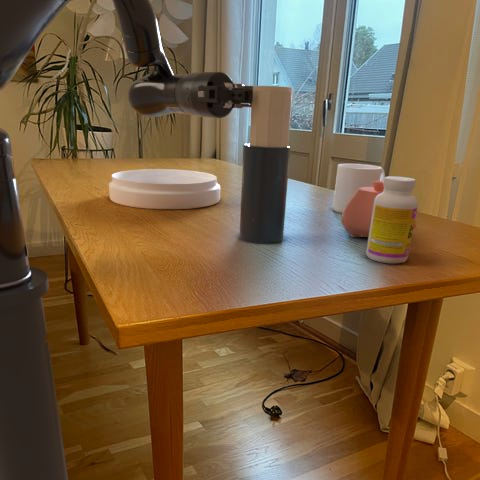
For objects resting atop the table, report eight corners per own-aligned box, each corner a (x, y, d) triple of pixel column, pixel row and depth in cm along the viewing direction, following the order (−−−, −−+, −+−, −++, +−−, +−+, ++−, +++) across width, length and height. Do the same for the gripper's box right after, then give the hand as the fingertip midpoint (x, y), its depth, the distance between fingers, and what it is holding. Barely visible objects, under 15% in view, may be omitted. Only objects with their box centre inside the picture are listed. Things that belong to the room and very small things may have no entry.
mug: (350, 216, 108) (357, 169, 103) (324, 208, 116) (329, 163, 111) (392, 213, 113) (399, 168, 109) (363, 205, 121) (370, 163, 117)
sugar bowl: (349, 224, 100) (356, 174, 96) (418, 235, 94) (429, 182, 90) (331, 237, 90) (338, 181, 86) (407, 249, 84) (418, 190, 80)
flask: (246, 244, 83) (251, 120, 75) (234, 232, 90) (239, 118, 82) (289, 243, 85) (299, 122, 77) (274, 231, 92) (283, 119, 84)
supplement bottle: (409, 266, 75) (426, 183, 70) (366, 262, 76) (379, 179, 71) (404, 254, 81) (419, 177, 76) (364, 251, 82) (376, 174, 77)
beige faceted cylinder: (280, 148, 77) (285, 86, 73) (243, 145, 79) (245, 85, 75) (294, 146, 82) (298, 88, 78) (258, 143, 84) (261, 87, 81)
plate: (86, 201, 111) (84, 177, 109) (146, 186, 134) (146, 165, 132) (190, 214, 103) (190, 188, 100) (235, 195, 126) (236, 174, 123)
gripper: (173, 69, 82) (239, 67, 71) (233, 74, 91) (299, 74, 81) (174, 116, 85) (237, 121, 75) (232, 117, 94) (295, 122, 84)
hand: (269, 97), depth 78 cm, fingers open, 8 cm apart
